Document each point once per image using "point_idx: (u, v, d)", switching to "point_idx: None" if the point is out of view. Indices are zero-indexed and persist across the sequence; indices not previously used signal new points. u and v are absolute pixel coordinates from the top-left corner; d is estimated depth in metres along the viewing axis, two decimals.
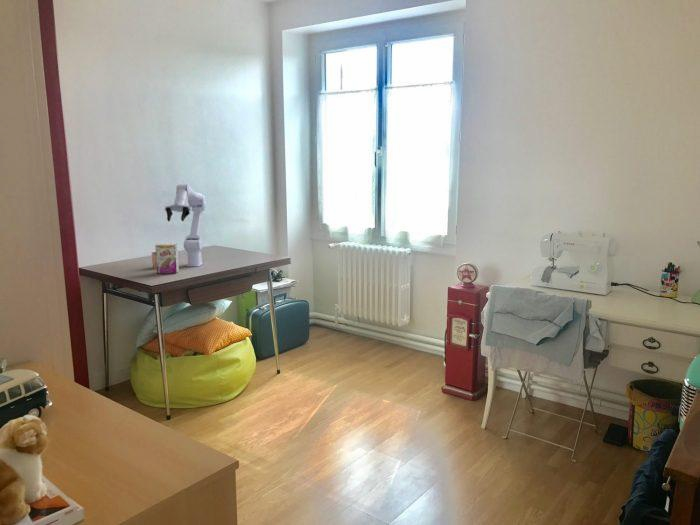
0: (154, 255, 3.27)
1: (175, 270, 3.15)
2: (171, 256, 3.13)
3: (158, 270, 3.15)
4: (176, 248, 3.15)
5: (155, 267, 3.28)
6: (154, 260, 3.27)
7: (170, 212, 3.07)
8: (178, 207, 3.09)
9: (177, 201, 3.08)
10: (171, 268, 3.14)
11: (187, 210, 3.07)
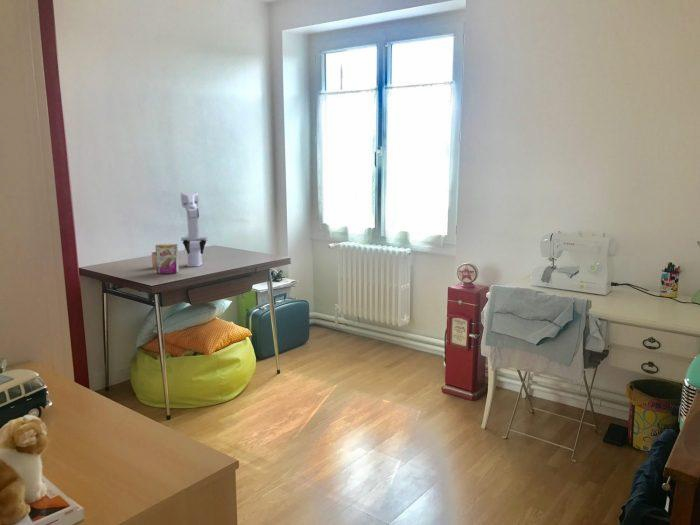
0: (154, 255, 3.27)
1: (175, 270, 3.15)
2: (171, 256, 3.13)
3: (158, 270, 3.15)
4: (176, 248, 3.15)
5: (155, 267, 3.28)
6: (154, 260, 3.27)
7: (188, 244, 3.17)
8: None
9: (192, 235, 3.13)
10: (171, 268, 3.14)
11: (204, 242, 3.16)
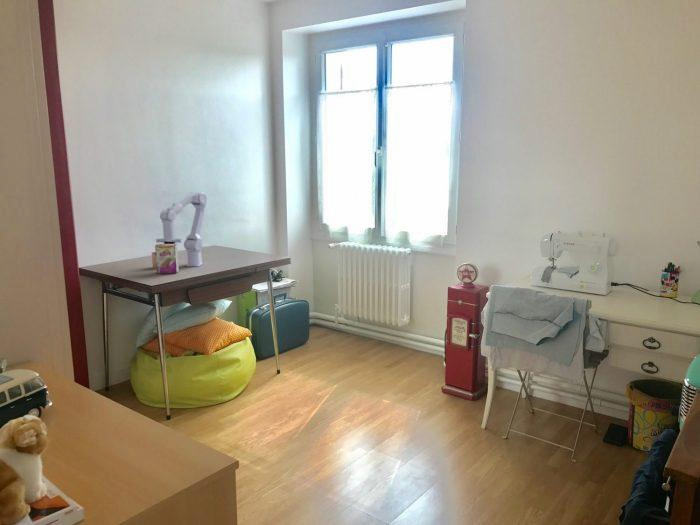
0: (154, 255, 3.27)
1: (175, 270, 3.15)
2: (171, 256, 3.13)
3: (158, 270, 3.14)
4: (176, 248, 3.14)
5: (155, 267, 3.28)
6: (154, 260, 3.27)
7: None
8: None
9: (166, 236, 3.15)
10: (171, 268, 3.14)
11: None
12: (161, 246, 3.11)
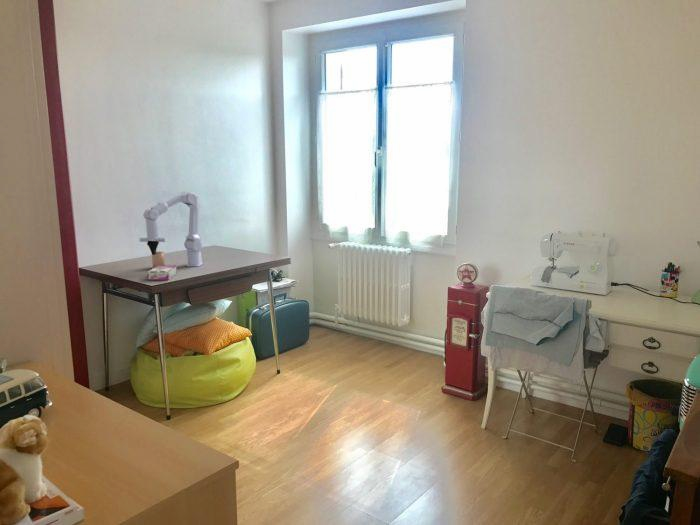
0: (154, 255, 3.27)
1: (174, 274, 3.13)
2: None
3: None
4: (169, 274, 3.01)
5: None
6: (154, 260, 3.27)
7: None
8: None
9: (150, 235, 3.12)
10: None
11: None
12: (155, 279, 2.99)
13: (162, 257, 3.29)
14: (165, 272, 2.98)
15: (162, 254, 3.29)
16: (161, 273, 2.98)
